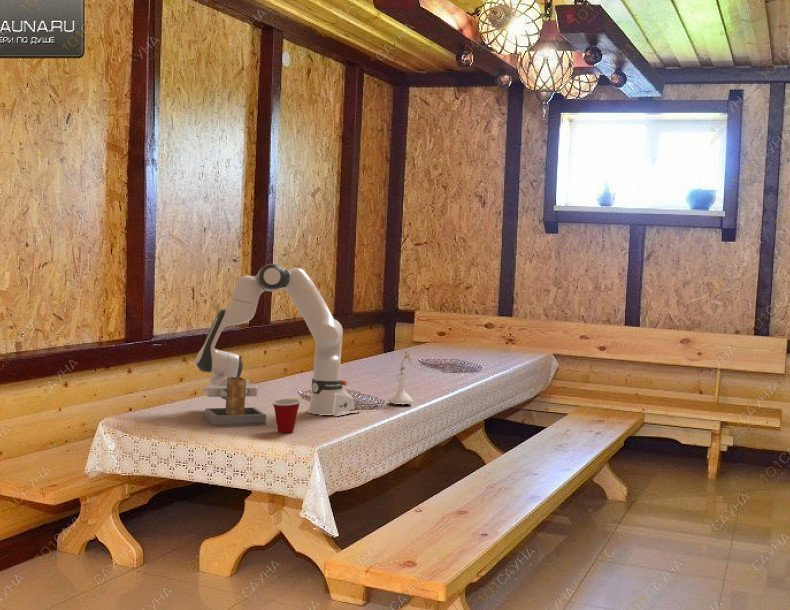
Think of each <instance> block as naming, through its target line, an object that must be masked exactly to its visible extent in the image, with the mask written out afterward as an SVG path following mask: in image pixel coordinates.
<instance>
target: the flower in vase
mask: <svg viewBox="0 0 790 610" xmlns="http://www.w3.org/2000/svg"><path fill="white" fill-rule="evenodd" d="M403 353H404V358H403V360H402V362H401V364H400V369H399V371H400V372H397V373H396V374H395V375H396V376H397V379H398V389H397V391H395V392H394V393H393V394H391V395H390V396H389V397H388V398H387V402H388V401H389V402H393V403H411V402H413V403H414V400H413V398H412V397H411V396H410V395H409V394H408V393H407V392H406V391H405V389H404V388H405V387H404V385H405V380H406V377H407V376H408V373H406V372H405V373H404V372H403V371H404V370H406V367H405V366H403V363H404V361H405V360H407V361H408V363H409V364H410V365H412V364H413V360H412V358H411V357H410V354H409V353H408V350H407V349H406V348H405V347H404V348H403ZM389 402H388V403H389Z"/></svg>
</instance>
